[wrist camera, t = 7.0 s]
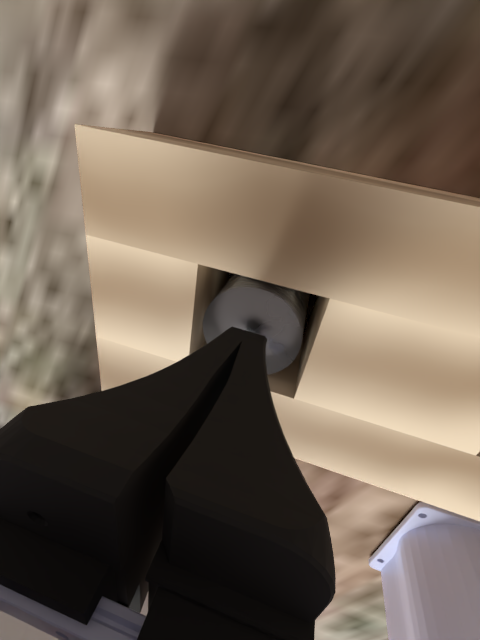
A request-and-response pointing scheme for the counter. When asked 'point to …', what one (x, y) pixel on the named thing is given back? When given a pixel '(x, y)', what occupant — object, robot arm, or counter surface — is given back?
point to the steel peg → (260, 316)
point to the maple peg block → (308, 276)
